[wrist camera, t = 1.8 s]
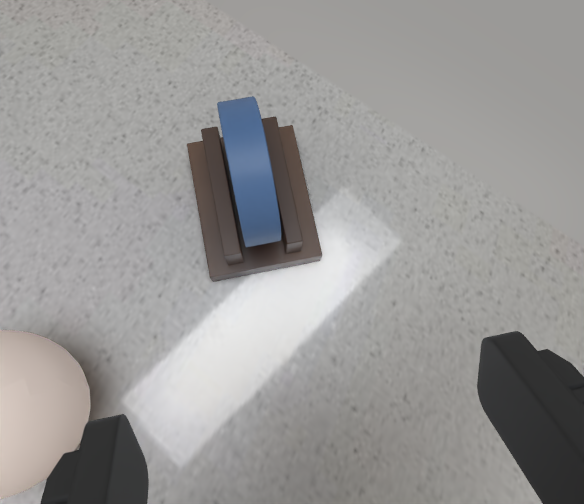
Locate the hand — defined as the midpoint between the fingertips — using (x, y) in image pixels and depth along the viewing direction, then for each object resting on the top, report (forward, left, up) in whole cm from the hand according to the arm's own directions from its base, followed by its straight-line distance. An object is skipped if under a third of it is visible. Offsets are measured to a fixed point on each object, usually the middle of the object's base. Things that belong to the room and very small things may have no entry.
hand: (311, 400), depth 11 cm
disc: (-2, -11, -15) cm, 19 cm away
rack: (-2, -11, -20) cm, 23 cm away
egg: (+14, -4, -20) cm, 25 cm away
